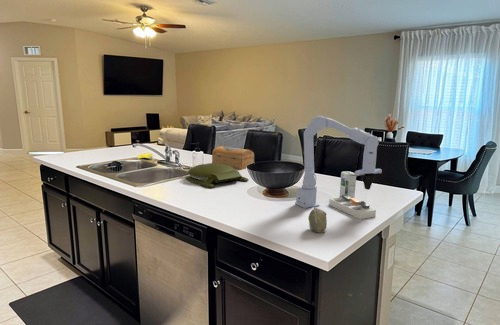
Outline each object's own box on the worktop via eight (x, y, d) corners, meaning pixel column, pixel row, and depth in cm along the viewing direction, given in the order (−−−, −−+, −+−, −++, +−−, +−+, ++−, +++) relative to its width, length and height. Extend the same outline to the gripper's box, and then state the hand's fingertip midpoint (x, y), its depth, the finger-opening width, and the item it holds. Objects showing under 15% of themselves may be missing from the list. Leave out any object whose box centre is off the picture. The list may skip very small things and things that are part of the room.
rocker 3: (347, 201, 167) (347, 198, 166) (341, 197, 170) (341, 194, 170) (351, 200, 168) (351, 198, 167) (345, 196, 171) (346, 194, 171)
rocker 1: (355, 204, 161) (356, 202, 161) (349, 200, 165) (350, 198, 165) (360, 203, 162) (360, 201, 162) (353, 200, 166) (354, 197, 166)
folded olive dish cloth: (250, 181, 217) (250, 166, 215) (209, 189, 198) (209, 173, 196) (218, 172, 243) (218, 158, 242) (179, 178, 224) (178, 163, 222)
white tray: (359, 219, 152) (360, 212, 151) (329, 204, 172) (329, 198, 171) (375, 216, 156) (376, 209, 155) (343, 202, 175) (343, 196, 175)
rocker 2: (364, 208, 156) (365, 206, 156) (358, 204, 160) (358, 201, 159) (369, 207, 157) (369, 205, 157) (362, 203, 161) (363, 201, 160)
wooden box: (255, 166, 262) (255, 148, 259) (241, 170, 249) (241, 151, 247) (226, 161, 281) (226, 144, 278) (211, 164, 268) (211, 147, 265)
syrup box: (338, 198, 183) (340, 171, 180) (348, 197, 185) (350, 170, 182) (345, 201, 177) (347, 174, 175) (354, 200, 179) (356, 173, 177)
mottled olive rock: (315, 239, 135) (312, 219, 131) (303, 229, 143) (300, 209, 138) (334, 229, 138) (332, 209, 134) (322, 219, 145) (319, 200, 141)
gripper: (363, 163, 155) (361, 192, 157) (387, 161, 161) (385, 189, 163) (352, 160, 161) (350, 188, 164) (376, 158, 167) (374, 185, 170)
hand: (367, 189), depth 164 cm, fingers closed
